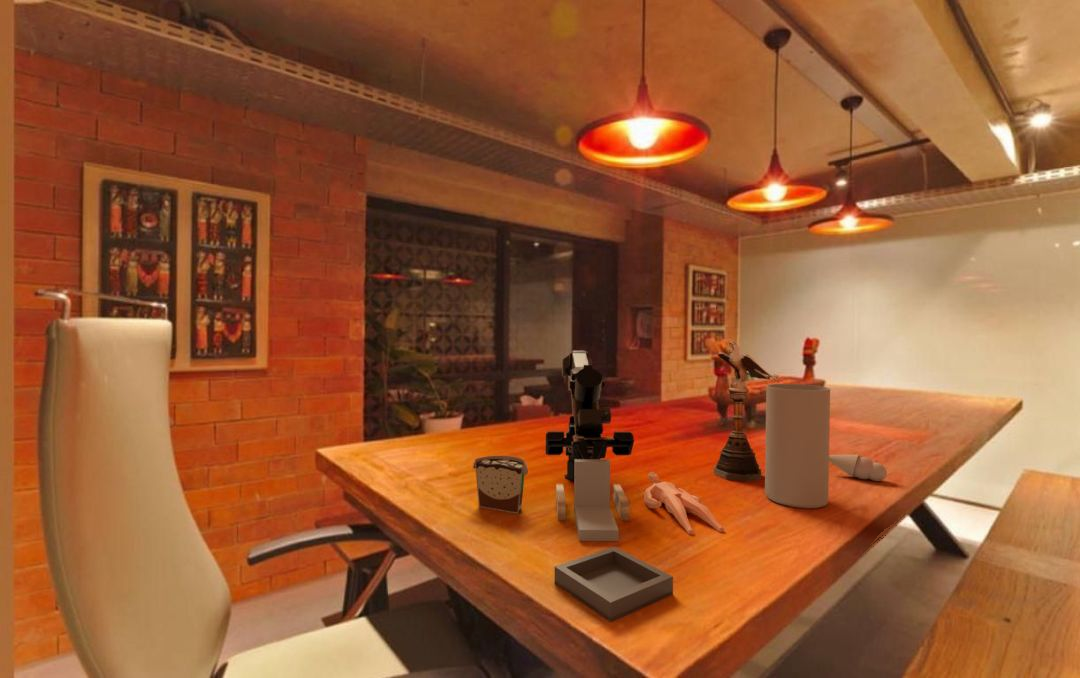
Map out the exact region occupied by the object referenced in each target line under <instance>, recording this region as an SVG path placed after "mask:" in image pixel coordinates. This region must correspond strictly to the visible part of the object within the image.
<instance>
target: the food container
mask: <svg viewBox="0 0 1080 678" xmlns="http://www.w3.org/2000/svg"><path fill="white" fill-rule="evenodd" d="M472 469H475V477H476V489H477V490H476V491H477V499H478V500H477V501H478V507H479V508H483V509H488V510H493V511H498V512H499V511H500V512H504V511H505V513H511V514H516V515H519V514H520V513H521V512H522V507H523V506H522V505H523V498H524V497H523V495H524V485H525V476H527V475H528V473H529V470H528V465H527V463H526V460H525V459H523V458H521V457H518V456H512V455H488V456H487V455H486V456H481V457H478V458H475V459H474V462H473V466H472Z"/></svg>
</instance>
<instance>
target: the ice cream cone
mask: <svg viewBox="0 0 1080 678" xmlns="http://www.w3.org/2000/svg"><path fill="white" fill-rule="evenodd" d="M829 463H830V464H832V465H833V466H835V467H836V468H838V469H840V470H842V472H844V473H846V474H847V475H848V476H850V477H851V478H855V477H856V478H857V479H860V480H871V481H874V482H882V481H883V480H885V479H886V477H887V476H888V475H887V474H888V470H887V468H886V467H885V466H884V465H883V464H882V463H880V462H876V461H875V462H874V461H873V460H872V459H870V458H869V457H866V456H860V454H858V453H857V454H856V453H855V454H829Z"/></svg>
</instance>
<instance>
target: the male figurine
mask: <svg viewBox="0 0 1080 678" xmlns="http://www.w3.org/2000/svg"><path fill="white" fill-rule="evenodd" d="M647 479H648V480H649V481H650V482H651V484H652V485H650V486H648V488H646V489H645V492H644V493H643V496H644V497H643V498H644V503H645V505H646V507H648V508H649V509H659V508H660V507H662V504H664V507H665V509H666V510H667V512H668V513H670V514H672V515H673V516H674V518H675V519H676V521H677V522H678V523H679V524H680V526H682V527H683V528H684V530H685V531H686V533H687V535H695V531H694V529H693V527H692V526H691V524H690V522H689V519H688V515H687V514H694V515H696V516H697V517H699V518H700V519H701V520H703V521H704V522H705V523H706V524H708V525H710V526H711V527H712V528H713V529H714V530H716V531H717V532H718V533H722V532H724V531H725V528H724V527H723V526H722V525H721V524H720V523H719V522H718V521H717V519H716V518H715V516H714V515H713V514H712V512H711V511H710V510H709V508H708V507H707V506H706V505H704V504H703V499H702V497H698V496H696V495H693V494H692V495H691V494H690V493H689V492H687V491H686V490H684V489H683V488H680V487H677V486H676V485H675V484H674V483H673V482H672V483H671V482H668V481H665V480H664V481H662V482H661V481H660V477H659V475H658V474H657V473H656V472H655V471H651V472H649V473H648V474H647Z"/></svg>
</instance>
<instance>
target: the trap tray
mask: <svg viewBox="0 0 1080 678" xmlns="http://www.w3.org/2000/svg"><path fill="white" fill-rule="evenodd" d="M554 584H555V585H556V586H558V587H559V588H561V589H562V590H564V591H565V592H566V593H568V594H570V595H571V596H572V597H574V598H575V599H577V600H578V601H580V602H581V603H582V604H584V605H585V606H587V607H588V608H590V609H591V610H593V611H594V612H595V613H597V614H598V615H600V616H601V617H603V618H604V619H605V620H607V621H609V622H613V621H614V622H615V621H616V620H618V619H620V618H623V617H624V616H626V615H629V614H631V613H634V612H636V611H637V610H640V609H642V608H645V607H647V606H649V605H651V604H653V603H656V602H658V601H661V600H662V599H664V598H665V599H666V598H668V597H671V596H672V595H673V594H674V576H673V575H671V574H668V573H667V572H665V571H663V570H661V569H659V568H657V567H655V566H653V565H651V564H649V563H648V562H645V561H643V560H641V559H639V558H638V557H636V556H634V555H632V554H630V553H628V552H626V551H623V550H622V549H620V548H618V547H616V546H611V547H609V548H606V549H603V550H600V551H596V552H594V553H590V554H587V555H585V556H581V557H579V558H576V559H573V560H569V561H567V562H564V563H560V564H557V565H555V566H554Z"/></svg>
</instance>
